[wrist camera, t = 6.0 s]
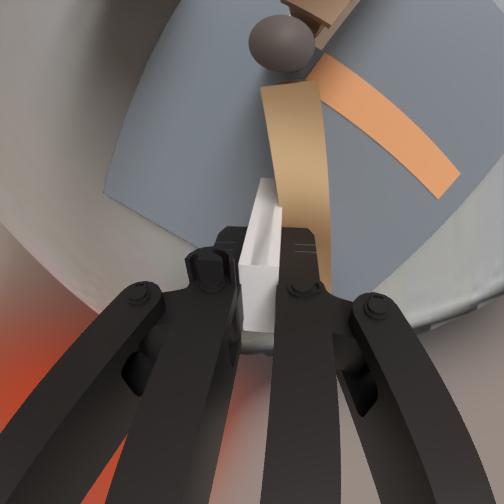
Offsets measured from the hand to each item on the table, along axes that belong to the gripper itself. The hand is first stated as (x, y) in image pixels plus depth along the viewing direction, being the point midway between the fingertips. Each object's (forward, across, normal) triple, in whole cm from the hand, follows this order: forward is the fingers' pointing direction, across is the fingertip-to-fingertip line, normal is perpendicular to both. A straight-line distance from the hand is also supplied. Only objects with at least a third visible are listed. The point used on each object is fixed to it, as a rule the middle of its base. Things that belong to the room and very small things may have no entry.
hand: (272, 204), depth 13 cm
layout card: (+4, +4, +5) cm, 7 cm away
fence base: (+3, +4, +12) cm, 13 cm away
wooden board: (+3, +2, +1) cm, 3 cm away
